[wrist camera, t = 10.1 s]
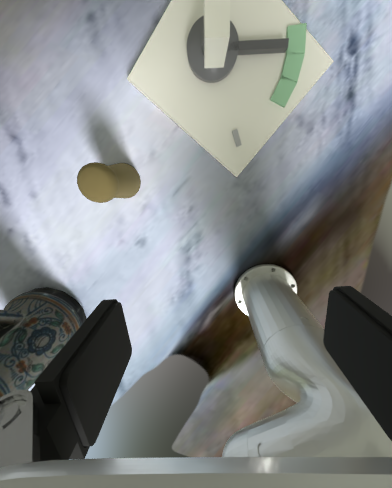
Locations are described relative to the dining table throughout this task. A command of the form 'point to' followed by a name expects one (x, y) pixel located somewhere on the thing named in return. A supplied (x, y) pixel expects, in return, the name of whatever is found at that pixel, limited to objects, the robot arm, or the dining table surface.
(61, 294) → the beer stein
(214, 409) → the dining table surface
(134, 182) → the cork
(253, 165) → the dining table surface
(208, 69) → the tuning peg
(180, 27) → the dial board
